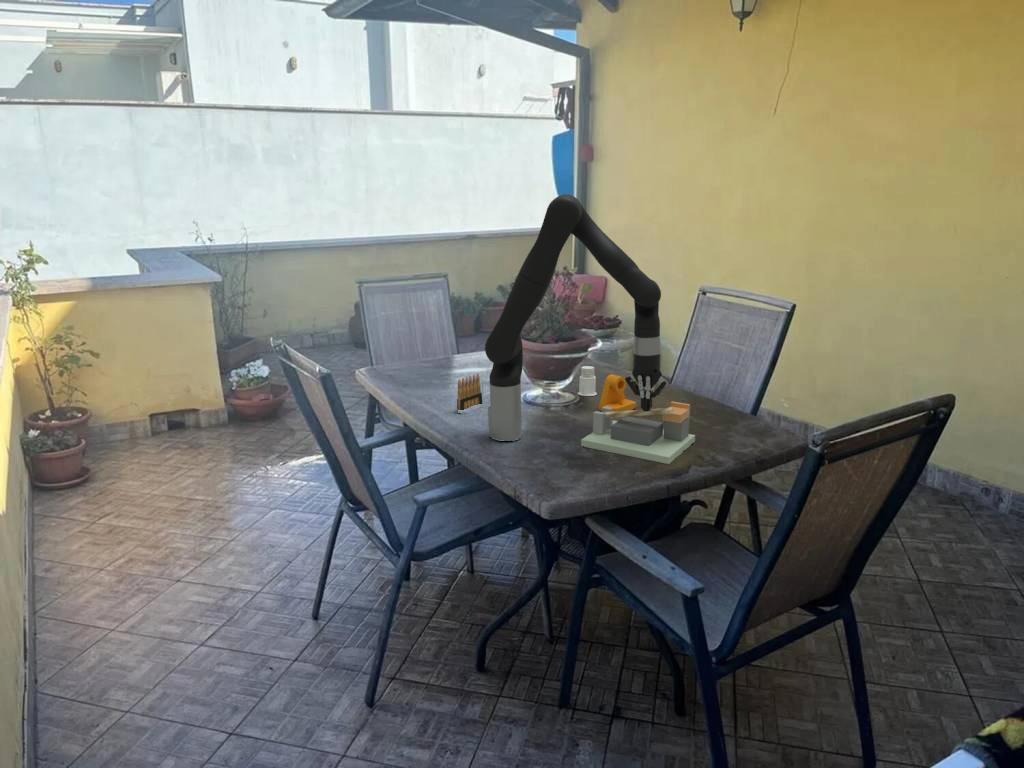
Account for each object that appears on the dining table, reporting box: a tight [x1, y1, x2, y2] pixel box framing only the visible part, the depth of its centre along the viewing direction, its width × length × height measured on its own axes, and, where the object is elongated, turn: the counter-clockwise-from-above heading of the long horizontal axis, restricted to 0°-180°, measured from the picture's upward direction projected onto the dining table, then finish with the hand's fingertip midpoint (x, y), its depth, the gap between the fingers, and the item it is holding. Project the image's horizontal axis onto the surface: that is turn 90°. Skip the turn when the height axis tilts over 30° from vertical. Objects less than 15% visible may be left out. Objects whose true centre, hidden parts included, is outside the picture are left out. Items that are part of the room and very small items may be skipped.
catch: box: [661, 401, 691, 423], centre depth 206 cm, size 6×7×4 cm
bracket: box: [598, 373, 637, 411], centre depth 238 cm, size 11×7×12 cm, turn 130°
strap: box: [604, 407, 674, 418], centre depth 207 cm, size 23×3×2 cm, turn 56°
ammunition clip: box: [456, 373, 483, 410], centre depth 242 cm, size 11×2×12 cm, turn 139°
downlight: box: [577, 365, 598, 397], centre depth 257 cm, size 8×7×10 cm
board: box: [580, 406, 696, 465], centre depth 208 cm, size 27×20×8 cm
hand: (646, 410), depth 205 cm, fingers closed
